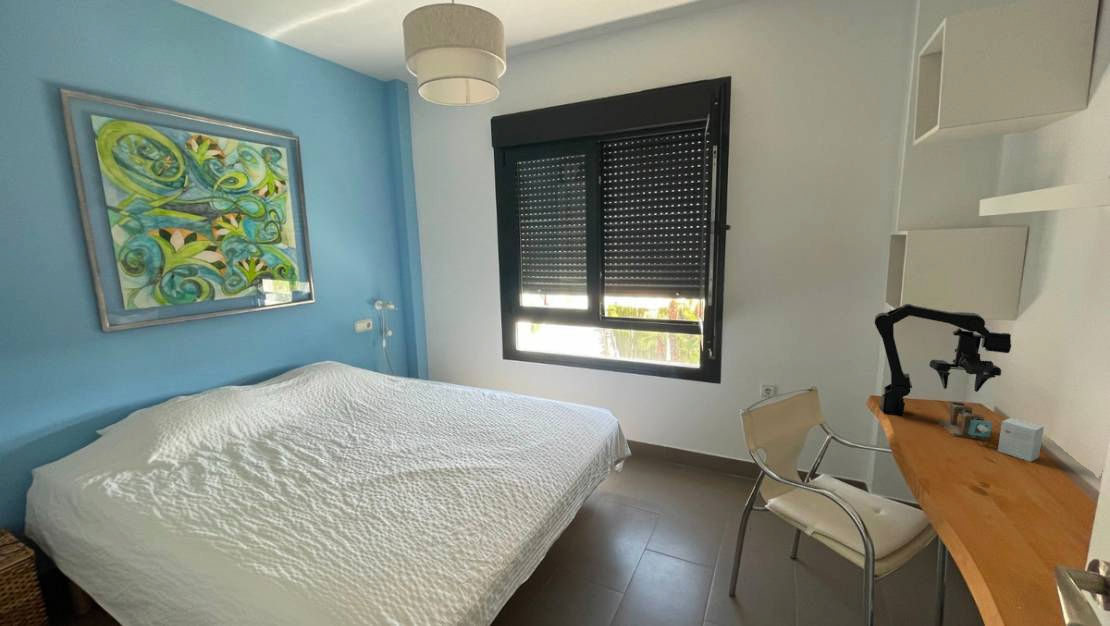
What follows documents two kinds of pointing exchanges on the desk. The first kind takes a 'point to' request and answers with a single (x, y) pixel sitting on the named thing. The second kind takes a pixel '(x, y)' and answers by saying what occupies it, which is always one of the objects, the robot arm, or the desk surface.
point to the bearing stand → (962, 422)
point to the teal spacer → (986, 423)
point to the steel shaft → (978, 426)
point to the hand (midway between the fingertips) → (960, 390)
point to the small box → (1020, 439)
